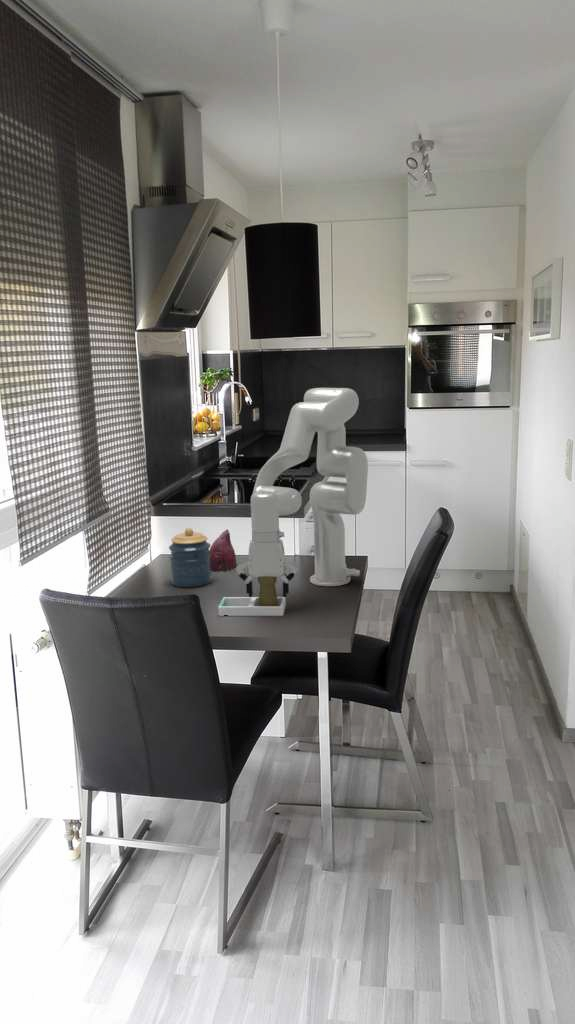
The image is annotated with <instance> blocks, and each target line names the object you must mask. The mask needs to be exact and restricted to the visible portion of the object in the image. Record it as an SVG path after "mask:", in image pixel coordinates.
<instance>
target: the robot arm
mask: <svg viewBox="0 0 575 1024" xmlns="http://www.w3.org/2000/svg"><path fill="white" fill-rule="evenodd" d="M359 404H360V402H359V396H358V394H357V392H356V391H355V390H354V389H352V388H349V387H315V388H309V389H308V390H306V392H305V393H304V396H303V402H302V401H300V402H297V403H295V404H294V405H293V406H292V408H291V409H290V412H289V414H288V420H287V423H286V426H285V430H284V434H283V435H282V436H283V437H282V441H281V443H280V447H279V449H278V450H277V452H275V453H274V454H273V455H272V456H271V457H270V458H269V459H268V460H267V461H266V462H265V464H264V465H262V467H261V468H260V470H259V472H258V474H257V476H256V479H255V484H254V487H253V491H252V494H251V496H250V515H251V516H250V518H251V539H250V541H249V544H248V545H249V547H248V560H247V561H245V562H243V563H241V564H239V565H237V567H236V569H235V571H236V573H237V574H238V575H239V578H240V579H242V581H243V582H244V583H245V586H246V594H248V597H253V594H254V591H253V581H252V580H253V578H258V577H263V576H270V577H277V578H280V579H281V580H282V597H287V595H288V594H289V593H290V591H289V582H291V580H292V579H294V577H295V575H296V574H297V571H298V568H299V566H298V565H296V564H295V563H292V562H290V561H288V560H286V555H285V547H284V542H283V540H282V539H281V538H284V537H285V531H281V530H280V521H279V520H280V519H279V517H280V516H288V515H292V514H296V512H298V511H299V510H300V508H301V507H302V503H303V498H302V495H301V493H300V491H299V490H297V489H295V488H291V487H284V486H276V485H274V484H275V481H276V479H277V478H278V477H279V476H280V475H281V474H282V473H283V472H284V471H286V470H288V469H290V468H292V467H295V466H297V465H299V464H301V463H303V462H306V460H308V458H309V456H310V452H311V448H312V444H313V442H314V441H313V440H314V437H315V435H316V433H317V445H316V446H317V447H316V449H317V450H316V470H317V472H318V473H319V474H320V475H321V476H324V477H331V478H332V477H333V478H342V479H345V480H346V482H345V481H344V482H343V481H342V482H341V481H334V480H333V481H330V480H323V481H322V480H321V481H319V482H316V483H314V484H313V486H312V487H311V488H310V490H309V503H310V506H311V512H312V519H313V547H314V549H313V551H314V574H313V575H311V576H310V577H309V582H310V583H311V584H313V585H315V586H319V587H320V586H321V587H338V586H339V587H340V586H343V585H347V584H348V583H350V582H351V577H360V576H361V573H360V572H361V570H360V569H356V568H348V567H347V564H346V538H345V537H346V534H345V533H346V532H345V530H346V529H345V523H344V520H343V518H342V515H348V516H349V515H350V516H351V515H353V516H355V515H359V514H360V513H362V512H363V510H364V508H365V505H366V501H367V490H368V475H369V474H368V473H369V462H368V457H367V453H366V452H365V451H364V450H363V449H362V448H360V447H357V446H356V447H355V446H346V445H347V444H346V441H347V438H346V437H347V436H346V434H347V433H346V427H345V423H346V422H347V421H349V420H350V419H352V417H354V416H355V414H356V412H357V410H358V407H359ZM246 568H248V575H247V574H246V573H245V572H244V571H243V570H244V569H246ZM286 568H288V569H290V570H291V571H290V572H289V574H287V573H286Z"/></svg>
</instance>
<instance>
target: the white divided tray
mask: <svg viewBox="0 0 575 1024" xmlns="http://www.w3.org/2000/svg"><path fill="white" fill-rule="evenodd" d="M286 597H287V596H286ZM286 597H283V596H277V600H278V606H258V603H259V596H252V597H249V596H248V597H247V596H237V597H236V596H235V597H234V596H226V597H225V596H224V597H222V599H221V600H220V603H219V605H218V606H217V609H218V610H217V611H218V614H217V615H219V616H218V617H225V616H224V615H228V616H227V617H262V616H263V617H264V616H265V617H267V616H268V617H282V616H284V614H285V609H286V607H287V599H286Z"/></svg>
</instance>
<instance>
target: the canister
mask: <svg viewBox="0 0 575 1024" xmlns="http://www.w3.org/2000/svg"><path fill="white" fill-rule="evenodd" d="M170 540H171V543H172V544H170V545H169V547H168V549H169V550H170V556H169V561H170V580H171V585H173V586H175V587H180V588H196V587H197V588H198V587H202V586H206V585H209V584H210V583H211V582H212V578H213V573H212V571H211V559H210V557H211V554H210V553H209V550H210V548H211V544H210V543H209V542H208V541H207V540H208V537H207V536H206V535H204V534H203V533H201V532H194V530H193V529H192V528H191V527H187V528H185V530H184V532H181V533H178V534H176V535H175V536H174V537H172V538H171V539H170Z"/></svg>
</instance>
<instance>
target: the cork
mask: <svg viewBox="0 0 575 1024" xmlns="http://www.w3.org/2000/svg"><path fill="white" fill-rule="evenodd" d="M277 578H278V577H270V576H263V577H257V582H258V584H259V595H258V597H259V603H258V606H278V600H277V597H278V595H277V590H276V583H277V580H278V579H277Z"/></svg>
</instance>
